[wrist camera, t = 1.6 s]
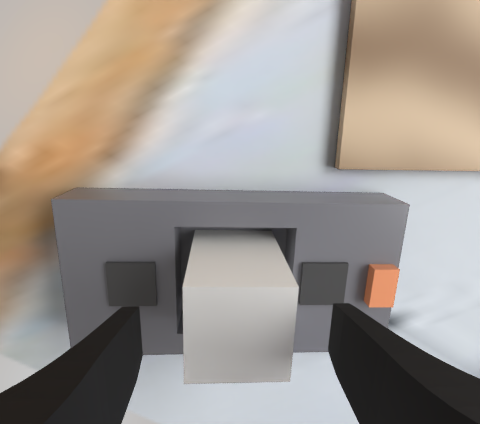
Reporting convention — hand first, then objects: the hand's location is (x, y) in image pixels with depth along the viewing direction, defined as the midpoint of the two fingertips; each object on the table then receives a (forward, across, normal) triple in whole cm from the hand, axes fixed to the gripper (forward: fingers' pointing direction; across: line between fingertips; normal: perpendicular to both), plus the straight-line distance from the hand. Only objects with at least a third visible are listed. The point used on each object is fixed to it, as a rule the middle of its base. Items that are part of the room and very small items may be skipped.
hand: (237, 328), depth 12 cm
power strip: (+7, 0, 0) cm, 7 cm away
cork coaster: (+6, -10, -10) cm, 15 cm away
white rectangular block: (+6, 0, 0) cm, 6 cm away
